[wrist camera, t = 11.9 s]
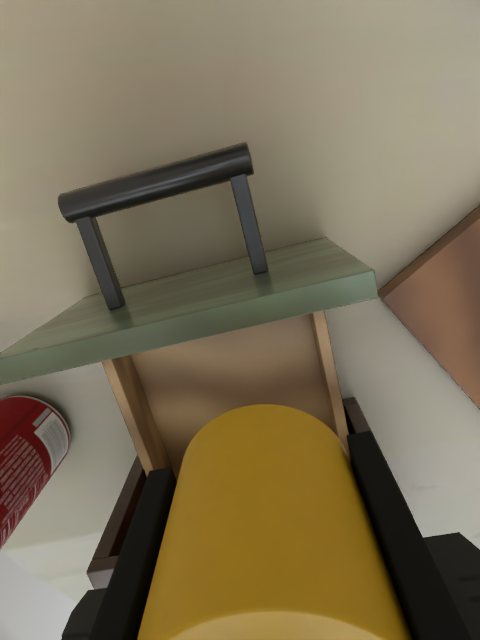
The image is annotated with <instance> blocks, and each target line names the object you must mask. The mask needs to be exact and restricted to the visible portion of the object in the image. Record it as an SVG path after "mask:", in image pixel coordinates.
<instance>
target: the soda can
mask: <svg viewBox="0 0 480 640" xmlns="http://www.w3.org/2000/svg"><path fill="white" fill-rule="evenodd" d="M69 447H70V432H69V428H68V426H67V424H66V422H65V420H64V418H63V417H62V416H61V415H60V413H59V412H58V411H57V410H56V409H54V408H53V407H52V406H50V405H49V404H47V403H46V402H44V401H42V400H39V399H37V398H33V397H29V396H10V397H7V398H4V399H1V400H0V550H1V548H2V547H3V546H4V544H5V543H6V541H7V540H8V538H9V537H10V535H11V534H12V533H13V531H14V530H15V528H16V527H17V525H18V524H19V522H20V521H21V520H22V518H23V517H24V515H25V514H26V512H27V511H28V509H29V508H30V507H31V505H32V504H33V502H34V501H35V499H36V498H37V497H38V495H39V494H40V492H41V491H42V489H43V488H44V486H45V485H46V484H47V482H48V481H49V479H50V478H51V476H52V475H53V473H54V472H55V471H56V469H57V468H58V466H59V465H60V463H61V462H62V460H63V459H64V458H65V456H66V455H67V453H68V450H69Z"/></svg>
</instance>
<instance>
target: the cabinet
mask: <svg viewBox="0 0 480 640" xmlns="http://www.w3.org/2000/svg"><path fill="white" fill-rule="evenodd" d="M342 403H343V408H344V414H345V419H346V424H347V429H348V434H355V433H360V432H366V431H371V429H370V427H369V425H368V423H367V421H366V419H365V417H364V415H363V413H362V411H361V408H360V406H359V404H358V403H357V400H356V399H355V398H351V399H346V400H342ZM371 432H372V431H371ZM372 434H373V433H372ZM373 436H374V435H373ZM374 438H375V437H374ZM375 440H376V439H375ZM376 442H377V441H376ZM377 444H378V443H377ZM378 446H379V445H378ZM379 448H380V447H379ZM384 459H385V458H384ZM385 461H386V460H385ZM386 463H387V462H386ZM387 465H388V464H387ZM388 467H389V466H388ZM389 469H390V468H389ZM390 471H391V470H390ZM391 473H392V472H391ZM392 475H393V474H392ZM393 477H394V476H393ZM146 479H147V476H146V474H145V471H144V469H143V466H142V464H141V461H140V459H139V456H138V454H137V456H136V459H135V461H134V463H133V466H132V468H131V470H130V472H129V475H128V477H127V479H126V482H125V484H124V486H123V489H122V491H121V493H120V496H119V498H118V500H117V503H116V505H115V507H114V510H113V512H112V514H111V516H110V519H109V521H108V523H107V526H106V528H105V530H104V533H103V535H102V537H101V540H100V542H99V544H98V547H97V549H96V551H95V554H94V556H93V558H92V561H91V563H90V565H89V567H88V570H87V575H88V577H89V579H90V581H91V583H92V586H93V588H94V589H101V588H107V587H108V584H109V581H110V578H111V576H112V573H113V570H114V567H115V565H116V562H117V559H118V556H119V554H120V551H121V548H122V545H123V542H124V540H125V537H126V534H127V531H128V529H129V526H130V523H131V520H132V518H133V515H134V512H135V509H136V507H137V504H138V501H139V498H140V496H141V493H142V490H143V487H144V485H145V482H146ZM394 479H395V478H394ZM395 481H396V480H395ZM396 483H397V482H396ZM397 485H398V484H397ZM398 487H399V486H398ZM399 490H400V489H399ZM400 492H401V491H400ZM401 494H402V493H401ZM402 496H403V495H402ZM403 498H404V497H403ZM404 500H405V499H404ZM405 502H406V501H405ZM406 504H407V503H406ZM408 508H409V507H408ZM409 510H410V509H409ZM410 512H411V511H410ZM411 514H412V513H411ZM412 516H413V515H412Z"/></svg>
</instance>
